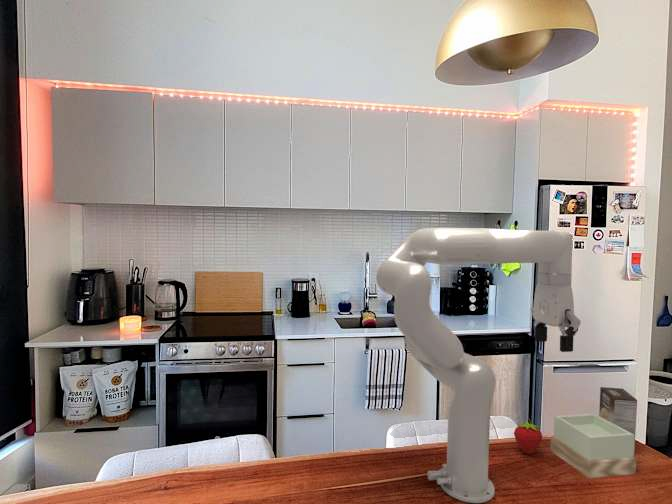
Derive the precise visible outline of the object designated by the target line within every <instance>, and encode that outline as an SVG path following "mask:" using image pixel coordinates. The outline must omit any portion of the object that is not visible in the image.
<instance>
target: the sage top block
mask: <svg viewBox="0 0 672 504" xmlns="http://www.w3.org/2000/svg"><path fill="white" fill-rule="evenodd" d="M553 420H554V421H553V423H554V425H553V436H554V437H555V438H556V439H558V440H559V441H561V442H562V443H564V444H565V445H567V446H568V447H570V448H571V449H573V450H574V451H576V452H577V453H579V454H580V455H582V456H583V457H585V458H586V459H588V460H589V461H597V460H608V459H620V458H631V457H634V455H633V451H634V434H632V433H630V432H628V431H626V430H624V429H622V428H621V427H619V426H617V425H615V424H613V423H611V422H609V421H607V420H605V419H603V418H601V417H600V416H599V414H598V415H597V414H595V413H583V414H580V413H579V414H568V415H564V414H563V415H554V419H553ZM634 452H635V451H634Z"/></svg>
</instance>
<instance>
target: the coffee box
mask: <svg viewBox="0 0 672 504" xmlns="http://www.w3.org/2000/svg"><path fill="white" fill-rule="evenodd" d="M599 390H600V392H599V412H598V416H600V417H601V418H603V419H605V420H607V421H609V422H611V423H613V424H615V425H617V426H619V427H621V428H622V429H624V430H626V431H628V432H630V433H632V434H634V451H633V456H635V452H636V451H635V448H636V447H635V446H636V428H637V410H638V399H637V398H635V397H634V396H633V395H632V394H630V393H629V392H628V391H627V390H625V389H624V388H618V387H605V386H604V387H603V386H601V387H600V389H599Z"/></svg>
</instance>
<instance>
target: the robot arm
mask: <svg viewBox="0 0 672 504" xmlns="http://www.w3.org/2000/svg"><path fill="white" fill-rule="evenodd" d="M572 236H573V235H572V234H571V233H569V232H567V231H555V230H531V229H529V230H524V229H522V230H521V229H520V230H519V229H503V228H489V227H488V228H486V227H428V228H427V227H426V228H420V229H418V230H416V231H414V232H413V233H411V234H410V235H409V236H408V237H407V238H406V239H405V240H404V241H403V242H402V243H401V244H399V246H398V247H397V248H395V250H394V251H393V252H391V253H390V255H389V256H388V257H386V259H385V260H384V261H383V262H382V263H381V264H380V265H379V267H378V269H377V271H376V276H375V279H376V283H377V286H378V288H379V289H380V290H382V291H381V292H384V293H385V294H387V295H390V296H393V297H394V302H393V303H394V305H393V316H394V317H393V318H394V322H395V324H396V327H397V328H398V330H399V331H400V332H401V333H402V334H403V336H404V337H405V338H404V340H405V346H406V348H407V350H408V353H410V355H411V356H412V357H413V358H414V359H415V360H416V361H417V362H418V363H419V364H420V365H421V366H422V368H424V369H425V370H426V371H427V372H428V373H429V374H430V375H431V376H432V377H433V378H435V379H436V380H437V381H438V382H439V383H441V384H442V385H444V386H446V387H448V388H449V389H451V390H452V391H454V396H453V398H452V400H451V402H450V405H449V407H448V411H447V412H448V413H447V442H446V443H447V445H446V463H442V468H439V470H428V471H427V473H426V474H427V475H426V476H427V479H428V481H434V480H436V483H437V485H440V487H441V489H442V490H443V491H444V493H446V494H447V495H449V496H450V497H451V498H454V499H456V500H458V501H461V502H465V503H471V504H482V503H486V502H488V501H490V500H492V499H493V498H494V497H495V491H496V490H495V485H494V483H493V482H492V480H491V479H490V478H489V452H490V451H489V450H490V449H489V448H490V425H491V424H490V422H491V410H492V409H491V408H492V402H493V398H494V394H495V389H496V385H497V378H496V375H495V372H494V370H493V369H492V367H491V366H490V365H489V364H488V363H486V362H485V361H484V360H481V358H478V357H476V356H473V355H472V354H469V353H466V352H465V351H464V347H463V344H462V342H461V341H460V339H459V338H458V336H457V335H456V334H455V333H454V332H453V331H452V329H450V328H449V327H448V326H447V325H446V324H445V323H444V322H443V321H442V320H441V319H440V318H439V317H438V316H437V314H436V313H435V312H434V311H433V310H432V309H433V308H432V307H431V304H430V302H431V301H430V299H431V291H432V283H433V282H432V277H431V274H430V272H429V271H428V269H427V268H426V267H425V265H426V264H427V263H428V264H435V265H436V264H437V265H467V264H468V265H470V264H472V265H475V264H476V265H480V264H481V265H485V264H487V265H488V264H489V265H497V264H498V265H502V264H538V273H537V274H538V277H537V284H536V286H535V287H536V288H535V290H534V298H533V307H531V308H530V312H531V316H532V317H531V318H532V321H533V326H534V341H535V342H537V343H539V342H543V343H544V342H547V341H548V326H551V327H558V328H559V331H560V333H561V335H559V351H560V352H562V353H570V352H571V353H572V352H574V337H575V336H576V333H577V332H578V331H579V328H580V326H581V323H582V322H581V320H580V319H579V318H578V316H577V315H575V305H574V304H575V303H574V294H573V289H572V288H573V287H572V279H573V278H572V275H573V274H572V272H573V271H572V268H573V237H572ZM546 325H548V326H546Z"/></svg>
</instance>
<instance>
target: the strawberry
mask: <svg viewBox="0 0 672 504" xmlns="http://www.w3.org/2000/svg"><path fill="white" fill-rule="evenodd" d="M528 420H529V422H530V423H529V422H528V421H526V422H525V423H518V426H517V427H515V429H514V431H513V434H514V439H515V441H516V442H517V444H518V445H519V448H521V449H522V450H523V452H524V453H525V454H526V455H530V454H532V453H533V452H534V451H535V450H536V449H537V448H538V447H539V446H540V445H541V443H542V440H543V434H542V431H541V430H540V429H538V428H539V426H537V425H534V423H533V424H532V421H531V420H530V418H528Z"/></svg>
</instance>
